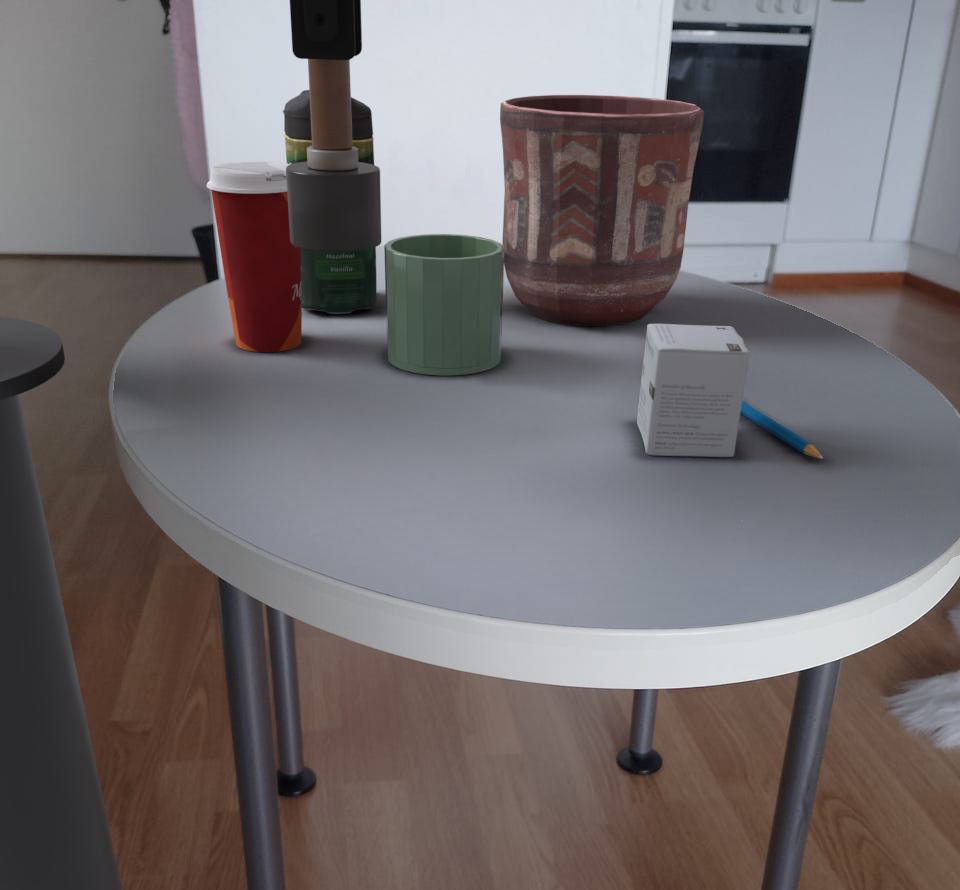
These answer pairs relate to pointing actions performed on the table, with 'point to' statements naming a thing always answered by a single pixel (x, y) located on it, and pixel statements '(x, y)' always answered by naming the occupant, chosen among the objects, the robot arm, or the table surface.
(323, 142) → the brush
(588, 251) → the pottery
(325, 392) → the table surface
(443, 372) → the jar
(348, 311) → the coffee jar
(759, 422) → the pencil
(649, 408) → the white cardboard box
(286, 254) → the paper cup
